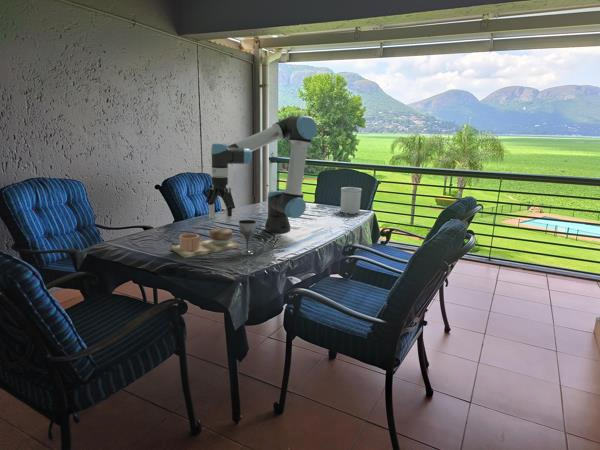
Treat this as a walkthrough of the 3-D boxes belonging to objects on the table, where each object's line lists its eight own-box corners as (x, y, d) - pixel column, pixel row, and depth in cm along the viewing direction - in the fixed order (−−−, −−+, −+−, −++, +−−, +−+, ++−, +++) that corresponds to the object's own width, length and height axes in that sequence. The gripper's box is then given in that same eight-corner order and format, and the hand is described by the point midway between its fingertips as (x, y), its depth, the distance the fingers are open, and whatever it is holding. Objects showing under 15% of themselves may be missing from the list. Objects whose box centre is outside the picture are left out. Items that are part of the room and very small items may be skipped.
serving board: (224, 240, 198) (224, 237, 198) (239, 247, 187) (239, 244, 187) (171, 249, 181) (171, 246, 180) (184, 257, 170) (184, 254, 169)
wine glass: (239, 249, 184) (239, 219, 180) (256, 249, 184) (256, 219, 181) (238, 255, 176) (238, 223, 172) (255, 255, 177) (255, 223, 173)
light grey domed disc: (231, 241, 192) (231, 235, 191) (225, 245, 184) (225, 239, 183) (217, 239, 193) (216, 234, 193) (210, 244, 186) (209, 238, 185)
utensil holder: (340, 209, 287) (341, 186, 282) (359, 210, 285) (361, 187, 280) (339, 213, 272) (340, 189, 268) (360, 214, 270) (361, 190, 266)
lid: (235, 235, 192) (235, 229, 191) (226, 240, 182) (226, 234, 181) (215, 233, 194) (215, 227, 194) (205, 238, 184) (205, 232, 183)
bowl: (203, 246, 182) (202, 234, 180) (193, 252, 173) (193, 239, 172) (185, 244, 184) (185, 232, 182) (176, 250, 175) (175, 237, 174)
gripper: (198, 174, 186) (199, 216, 191) (229, 179, 170) (229, 225, 175) (211, 173, 192) (211, 214, 196) (242, 179, 175) (242, 223, 180)
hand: (220, 220), depth 186 cm, fingers open, 13 cm apart
